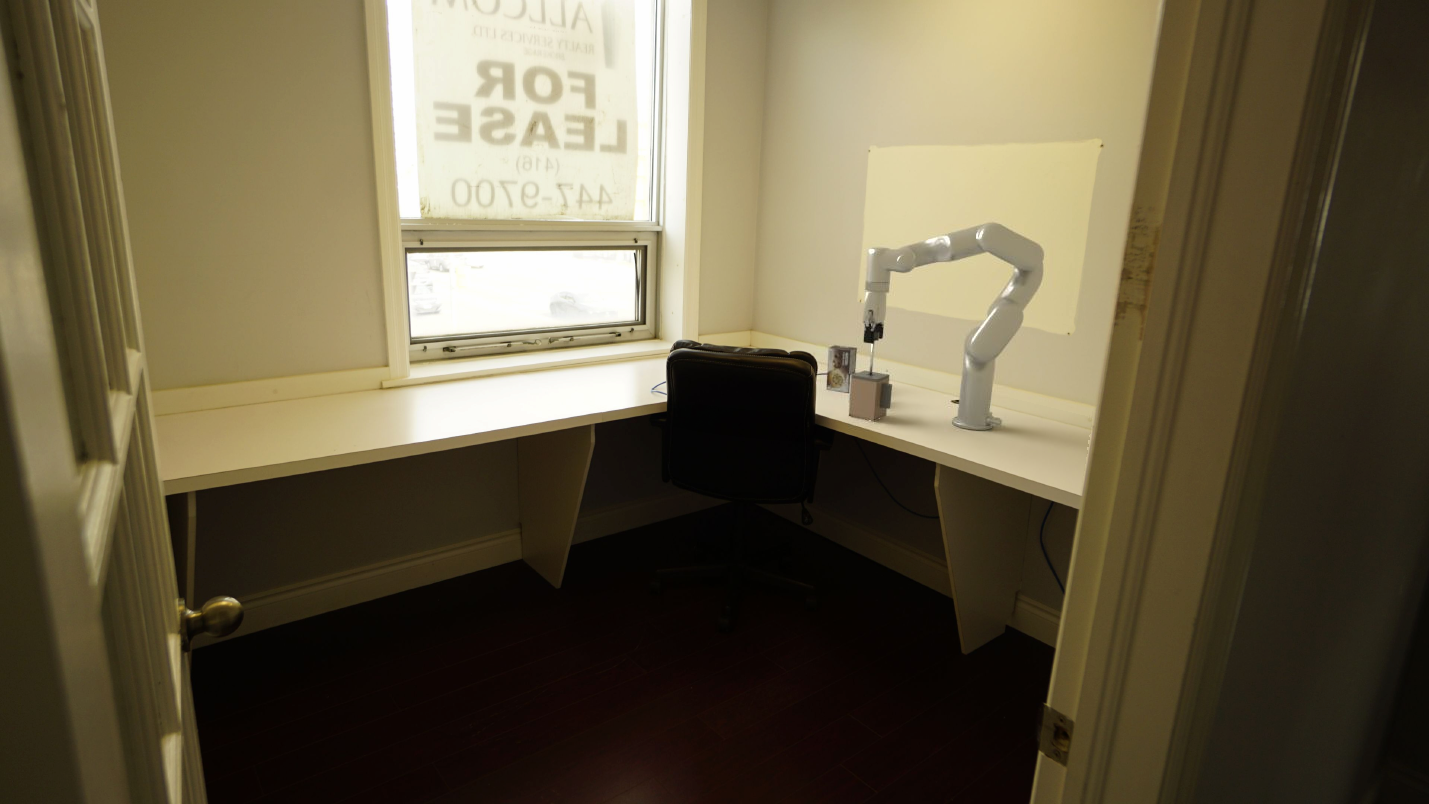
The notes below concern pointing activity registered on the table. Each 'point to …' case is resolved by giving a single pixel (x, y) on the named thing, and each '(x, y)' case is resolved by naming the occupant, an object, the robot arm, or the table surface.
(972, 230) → the robot arm
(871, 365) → the lever with black knob
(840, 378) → the coffee box
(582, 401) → the table surface
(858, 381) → the tan lever base
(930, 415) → the table surface
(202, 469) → the table surface
